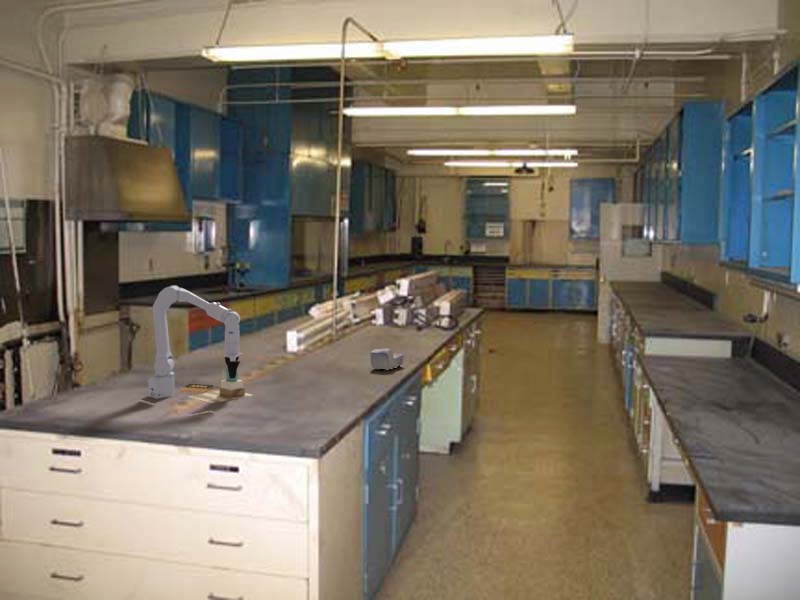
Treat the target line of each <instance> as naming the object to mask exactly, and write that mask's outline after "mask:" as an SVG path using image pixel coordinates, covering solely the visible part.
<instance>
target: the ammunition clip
mask: <svg viewBox="0 0 800 600" xmlns="http://www.w3.org/2000/svg"><path fill="white" fill-rule="evenodd" d="M212 389H214V384H213V385H212V384H202V383H201V384H200V383H188V384H187V385H185V386H184V387H183V388H181V389H180V390H179V391H178V392H177V393H181V394H184V393H186V394H189V393H190V395H191V394H193V395H198V394H204V393H207V392H208V391H210V390H212Z"/></svg>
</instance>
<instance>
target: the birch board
mask: <svg viewBox="0 0 800 600" xmlns="http://www.w3.org/2000/svg"><path fill="white" fill-rule="evenodd" d="M251 396H253V394H251V393H247V392H245V395H244V396H239V397H234V398H228V397H224V396H220V395H219V390H216V391H210V392H204V393H201V394H198V393H197V394H192V395H188V398H190V399H191V398H192V399H196V400H199V401H202V402H207V403H210V404H214V403H220V402H225V401H231V400H236V399H241V398H248V397H251Z"/></svg>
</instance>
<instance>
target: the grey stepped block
mask: <svg viewBox="0 0 800 600" xmlns="http://www.w3.org/2000/svg"><path fill="white" fill-rule="evenodd" d="M404 356H405V354H403V353H397V352H394V351H393V350H392V349H390V348H387V347H386V348H380V349H379V348H378V349H377V348H376V349H375V348H374V349H373V350H371V352H370V365H371V369H373V368H374V369H373V370H380V369H386V370H387V371H389V370H388V369H391V368H395V367H398V366H400V365H402V366H403V362H404ZM386 370H385V371H386ZM391 370H392V369H391Z"/></svg>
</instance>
